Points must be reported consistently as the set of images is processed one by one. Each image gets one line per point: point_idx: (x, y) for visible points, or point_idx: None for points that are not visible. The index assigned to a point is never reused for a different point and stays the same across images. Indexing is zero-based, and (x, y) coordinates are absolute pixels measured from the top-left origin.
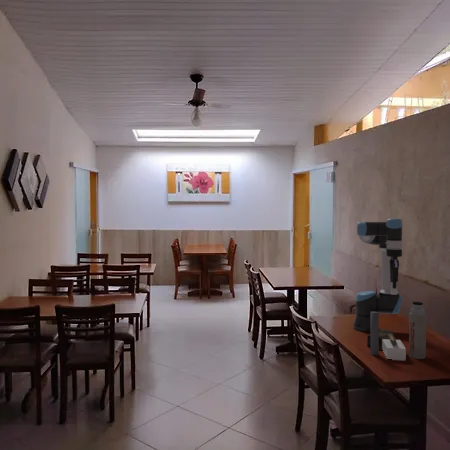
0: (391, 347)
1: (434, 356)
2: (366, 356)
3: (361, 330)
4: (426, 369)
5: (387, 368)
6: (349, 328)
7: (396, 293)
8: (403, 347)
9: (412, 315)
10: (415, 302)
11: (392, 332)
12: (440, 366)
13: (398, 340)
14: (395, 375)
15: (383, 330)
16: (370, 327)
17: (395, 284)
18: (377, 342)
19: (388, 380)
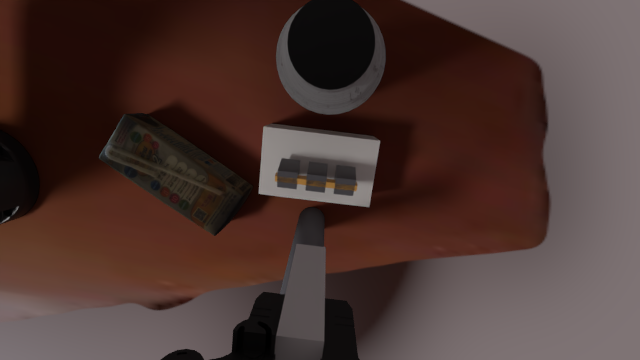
0: (365, 189)
1: None
2: (334, 248)
3: (34, 200)
4: (459, 95)
5: (444, 214)
6: (5, 233)
7: (324, 257)
8: (365, 145)
9: (359, 104)
10: (336, 66)
11: (132, 117)
12: (433, 33)
13: (272, 135)
14: (502, 208)
15: (126, 154)
16: (18, 170)
17: (353, 346)
18: (321, 229)
19: (538, 238)
